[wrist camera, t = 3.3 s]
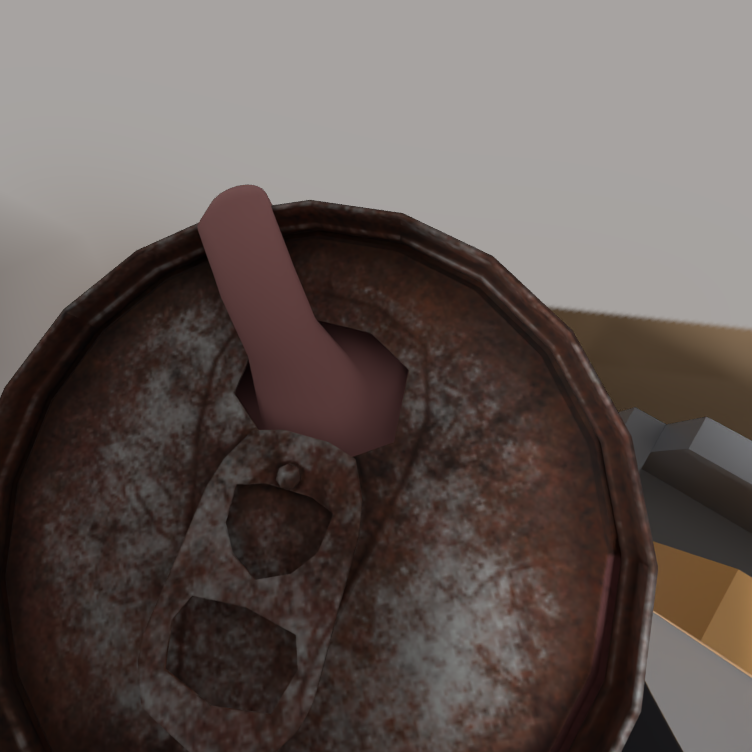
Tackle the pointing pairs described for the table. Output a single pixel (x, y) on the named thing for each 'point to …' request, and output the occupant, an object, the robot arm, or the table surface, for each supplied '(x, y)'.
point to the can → (317, 504)
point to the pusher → (706, 603)
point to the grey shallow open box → (705, 539)
